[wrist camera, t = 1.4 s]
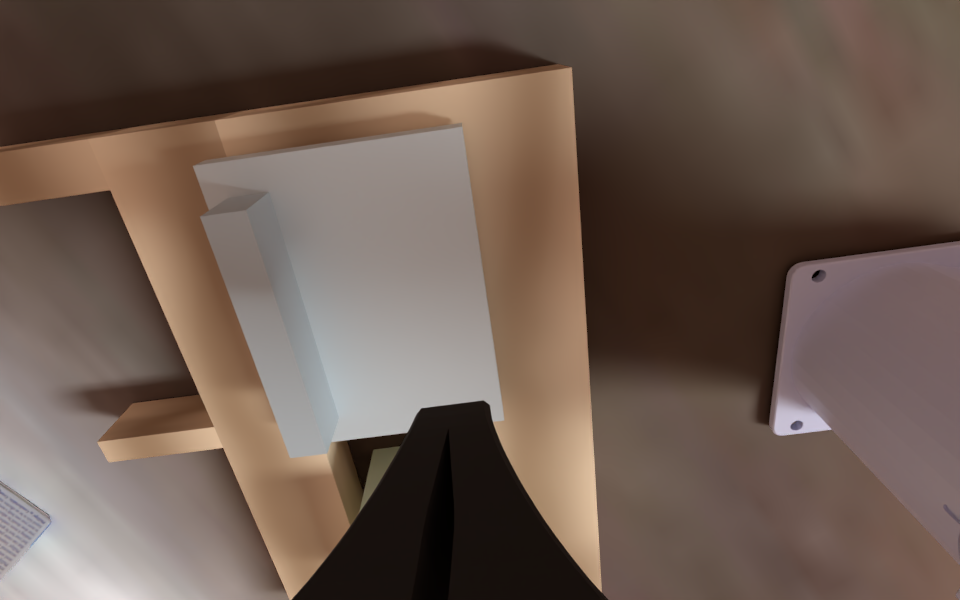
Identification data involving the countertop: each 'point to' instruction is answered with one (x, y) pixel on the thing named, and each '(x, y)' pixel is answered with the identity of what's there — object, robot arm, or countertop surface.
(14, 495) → the medicine box
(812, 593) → the countertop surface
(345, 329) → the lid
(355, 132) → the puzzle board
